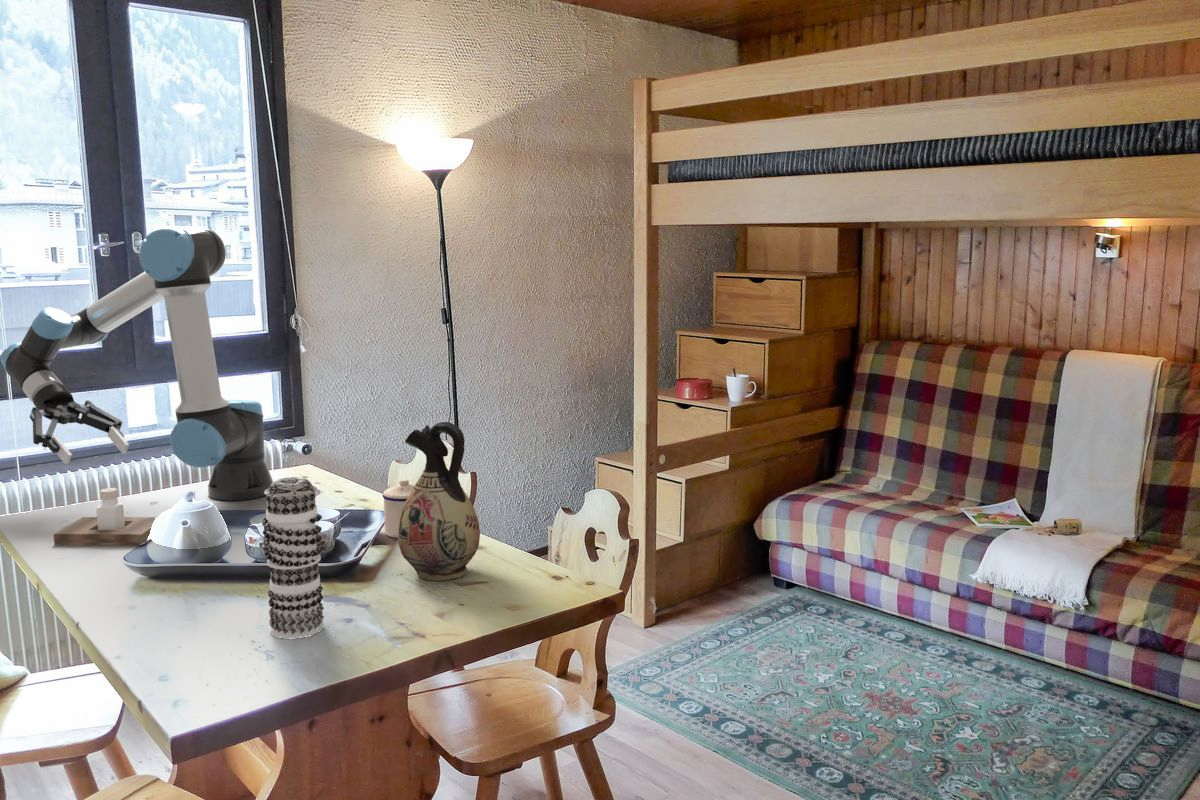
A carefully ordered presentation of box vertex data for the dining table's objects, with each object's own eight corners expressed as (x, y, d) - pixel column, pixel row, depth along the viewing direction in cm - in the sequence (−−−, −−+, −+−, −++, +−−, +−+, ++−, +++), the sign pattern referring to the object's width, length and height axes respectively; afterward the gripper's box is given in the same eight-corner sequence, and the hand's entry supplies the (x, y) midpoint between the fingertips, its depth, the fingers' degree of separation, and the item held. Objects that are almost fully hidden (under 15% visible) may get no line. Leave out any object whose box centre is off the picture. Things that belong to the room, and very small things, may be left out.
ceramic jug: (381, 579, 185) (376, 422, 180) (431, 555, 199) (428, 408, 193) (455, 595, 177) (452, 431, 172) (503, 569, 191) (501, 417, 186)
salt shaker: (126, 531, 211) (123, 487, 209) (115, 536, 207) (111, 492, 205) (108, 530, 211) (105, 487, 209) (97, 535, 207) (93, 491, 206)
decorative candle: (304, 613, 169) (298, 470, 164) (337, 627, 163) (331, 480, 158) (256, 630, 162) (248, 481, 157) (289, 645, 156) (281, 491, 151)
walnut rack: (167, 528, 215) (166, 517, 215) (142, 545, 203) (141, 534, 203) (83, 527, 215) (83, 516, 214) (54, 545, 203) (53, 533, 203)
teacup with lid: (435, 532, 213) (433, 480, 211) (399, 541, 207) (397, 487, 205) (403, 520, 222) (402, 470, 220) (368, 529, 215) (366, 477, 213)
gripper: (94, 400, 240) (143, 457, 233) (-12, 414, 219) (38, 477, 212) (104, 376, 237) (153, 433, 230) (-3, 388, 216) (47, 451, 209)
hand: (98, 454), depth 221 cm, fingers open, 13 cm apart
